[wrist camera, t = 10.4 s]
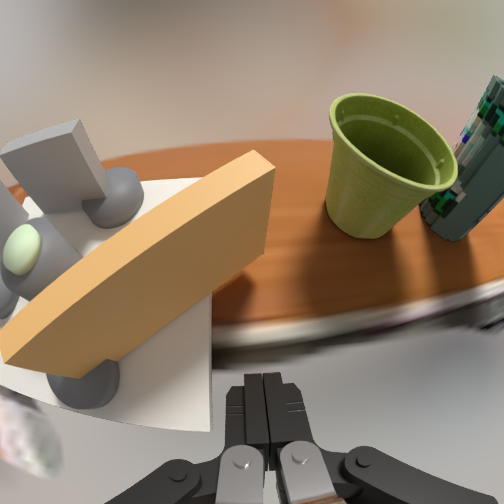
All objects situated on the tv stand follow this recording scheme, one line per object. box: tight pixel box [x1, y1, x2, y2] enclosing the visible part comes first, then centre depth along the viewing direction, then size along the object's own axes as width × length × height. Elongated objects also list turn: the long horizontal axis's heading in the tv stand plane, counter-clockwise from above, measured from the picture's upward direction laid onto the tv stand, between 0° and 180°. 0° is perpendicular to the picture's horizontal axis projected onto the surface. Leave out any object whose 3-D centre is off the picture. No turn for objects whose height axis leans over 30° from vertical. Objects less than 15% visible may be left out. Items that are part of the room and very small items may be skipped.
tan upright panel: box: [0, 150, 276, 409], centre depth 12 cm, size 16×5×8 cm, turn 130°
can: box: [419, 75, 504, 242], centre depth 16 cm, size 6×6×15 cm
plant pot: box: [326, 93, 458, 239], centre depth 18 cm, size 9×9×9 cm
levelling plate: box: [0, 119, 213, 432], centre depth 14 cm, size 21×18×10 cm
